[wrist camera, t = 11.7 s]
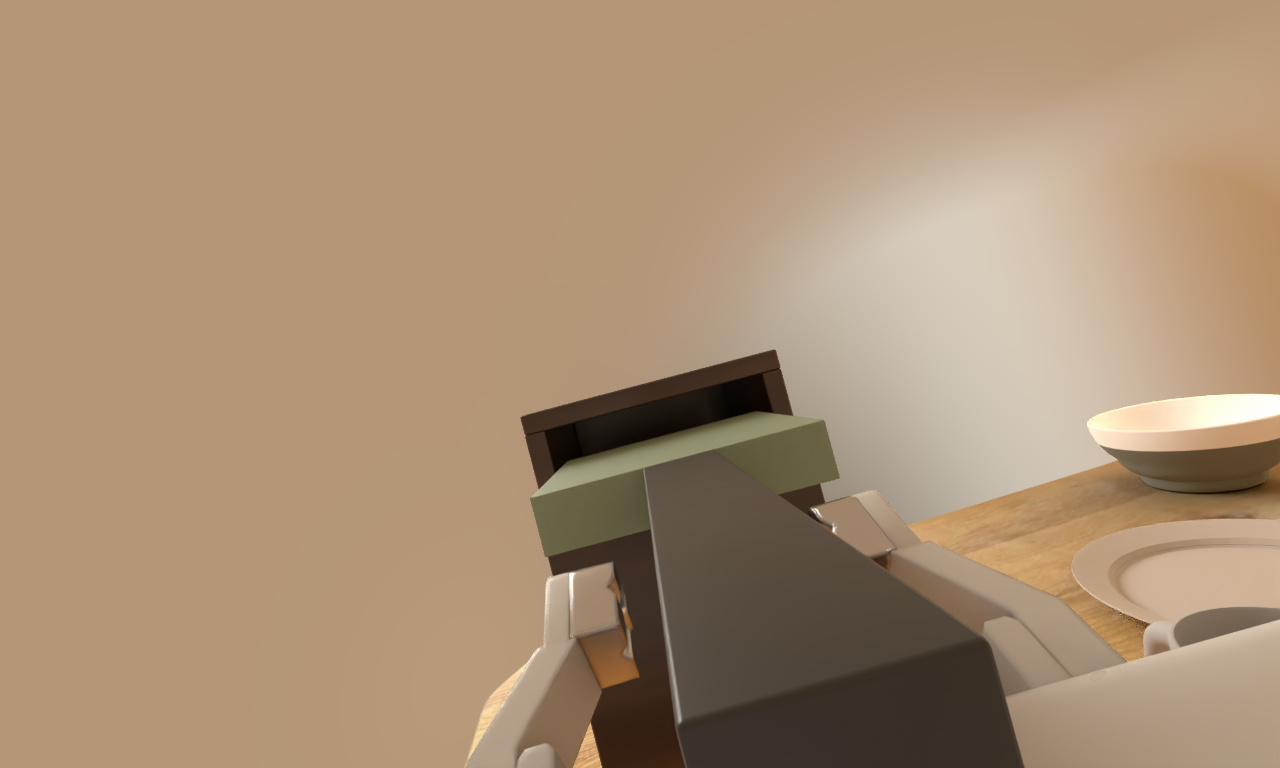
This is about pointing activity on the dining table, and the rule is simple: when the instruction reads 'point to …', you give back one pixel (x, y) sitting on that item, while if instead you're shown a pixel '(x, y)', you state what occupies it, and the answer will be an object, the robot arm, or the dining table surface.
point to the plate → (1183, 567)
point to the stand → (642, 707)
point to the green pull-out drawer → (781, 608)
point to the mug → (1204, 626)
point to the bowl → (1195, 441)
